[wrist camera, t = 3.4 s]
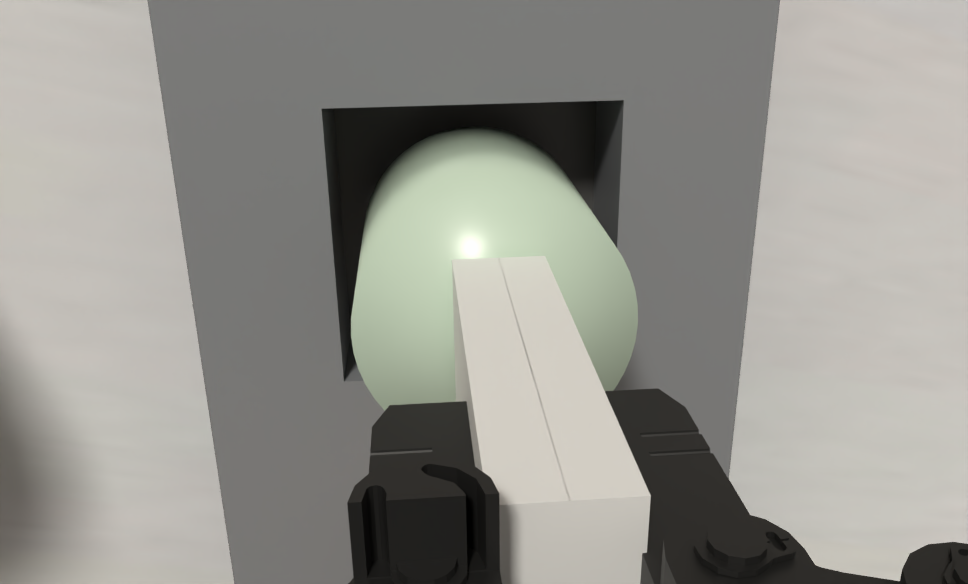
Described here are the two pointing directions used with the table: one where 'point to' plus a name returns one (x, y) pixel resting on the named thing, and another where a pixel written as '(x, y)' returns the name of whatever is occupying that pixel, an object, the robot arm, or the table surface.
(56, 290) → the table surface
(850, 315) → the table surface
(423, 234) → the light green piece
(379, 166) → the panel
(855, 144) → the table surface
